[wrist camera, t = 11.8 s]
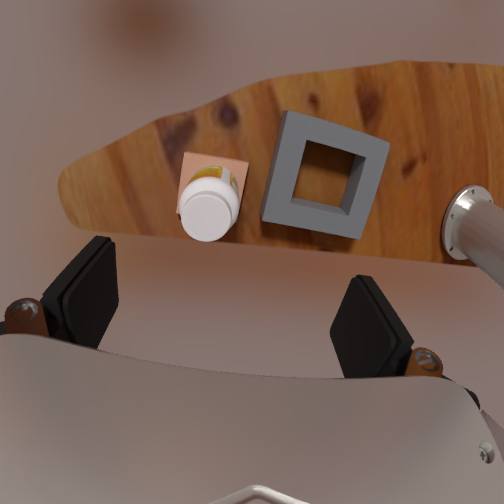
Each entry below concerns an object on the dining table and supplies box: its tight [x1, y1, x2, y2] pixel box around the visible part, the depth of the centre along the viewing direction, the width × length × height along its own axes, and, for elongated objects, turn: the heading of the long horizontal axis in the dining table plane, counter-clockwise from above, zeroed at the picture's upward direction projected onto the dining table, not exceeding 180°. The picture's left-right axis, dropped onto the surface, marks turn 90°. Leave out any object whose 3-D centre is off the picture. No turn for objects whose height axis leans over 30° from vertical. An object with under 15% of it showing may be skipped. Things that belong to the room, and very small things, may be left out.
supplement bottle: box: [179, 165, 239, 242], centre depth 26 cm, size 5×5×10 cm
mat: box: [176, 152, 249, 223], centre depth 31 cm, size 7×7×1 cm
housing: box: [260, 110, 390, 240], centre depth 30 cm, size 12×12×3 cm
